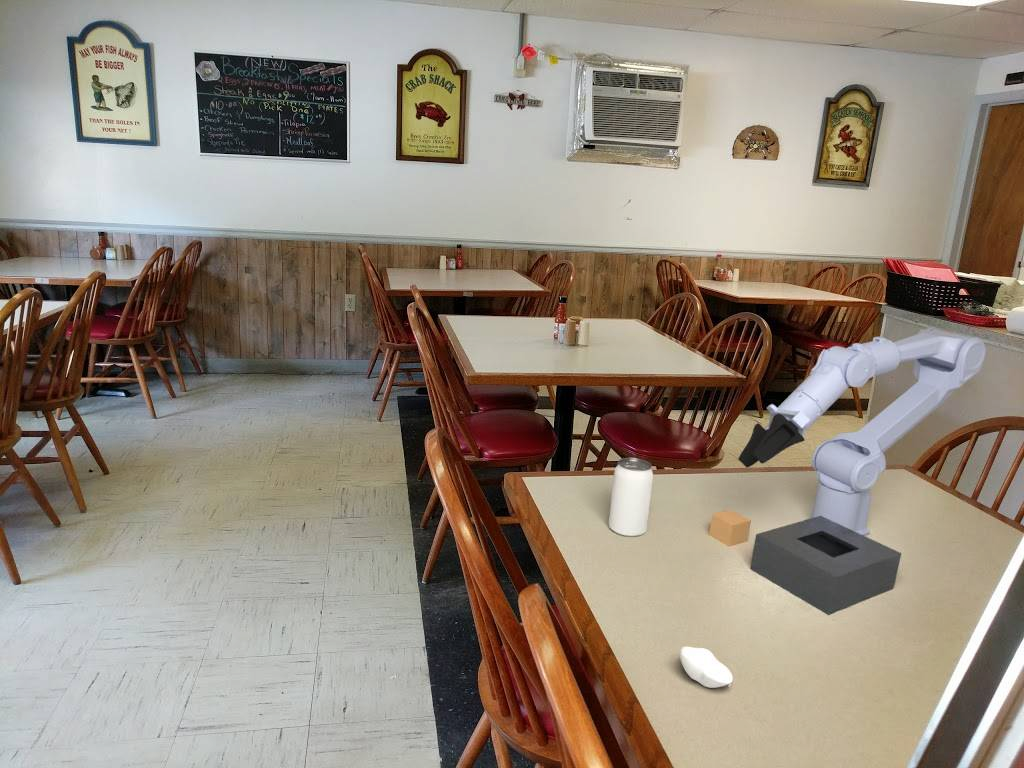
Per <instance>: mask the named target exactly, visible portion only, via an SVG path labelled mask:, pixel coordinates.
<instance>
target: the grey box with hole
mask: <svg viewBox="0 0 1024 768" xmlns="http://www.w3.org/2000/svg"><path fill="white" fill-rule="evenodd" d="M754 539H755V540H754V544H753V551H752V556H751V562H750V570H751V571H753V572H755V573H757V574H758V575H760V576H762V577H763V578H765V579H766V580H768V581H770V582H772V583H773V584H775V585H777V586H779V587H780V588H782V589H783V590H785V591H787V592H788V593H791V595H792V594H793V595H794V596H796V597H797V598H799V599H801V600H802V601H804V602H806V603H807V604H809V605H811V606H813V607H814V608H817V609H818V610H819V611H821V612H823V613H824V614H827V615H828V616H830V615H832V614H834V613H837V612H839V611H842V610H844V609H847V608H850V607H852V606H854V605H857V604H859V603H862V602H864V601H867V600H869V599H871V598H873V597H876V596H879V595H881V594H884V593H886V592H889V591H891V590H894V588H895V583H896V579H897V575H898V571H899V567H900V566H899V565H900V561H901V557H902V554H903V553H902V552H899V551H897V550H895V549H893V548H891V547H888V545H887V546H886V545H884V544H883V543H881V542H878V541H876V540H874V539H872V538H869V537H868V536H865V535H861V534H859V533H857V532H855V531H853V530H850V529H848V528H846V527H844V526H842V525H840V524H838V523H835V522H833V521H831V520H829V519H827V518H825V517H823V516H818V517H814V518H812V517H811V518H807V519H804V520H801V521H798V522H794V523H791V524H787V525H784V526H783V525H782V526H780V527H777V528H773V529H769V530H767V531H762V532H759V533H756V534H755V538H754Z"/></svg>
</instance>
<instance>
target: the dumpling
mask: <svg viewBox="0 0 1024 768" xmlns="http://www.w3.org/2000/svg"><path fill="white" fill-rule="evenodd" d="M679 656H680V657H679V659H680V662H681V665H682V667H683V669H684V670H685V672H686V673H687V675H688V676H689V677H690V678H691V679H692V680H695V681H696V682H698V683H699V684H700V685H702V686H703V687H705V688H709V689H711V688H712V689H714V688H716V689H717V688H721V687H725V686H728V688H730V686H732V683H733V681H734V680H733V677H734V676H733V674H732V672H731V671H730V669H729V668H728V667H727V666H726V665H725V664H723V663H722V662H720V661H719V660H718V659H717V658H716V657H715V655H714V654H713V653H712V651H710V650H709V649H706V648H704V647H693V646H688V645H687V646H682V647H681V649H680V652H679Z"/></svg>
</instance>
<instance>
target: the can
mask: <svg viewBox="0 0 1024 768" xmlns="http://www.w3.org/2000/svg"><path fill="white" fill-rule="evenodd" d="M613 472H614V473H613V481H612V489H611V490H612V491H611V498H610V509H609V516H608V517H609V519H608V527H609V528H610V530H611V531H612V532H613V533H615V534H617V535H620V536H622V537H629V538H631V537H632V538H633V537H634V538H635V537H640V536H642V535H644V534H645V533H646V532H647V527H648V521H649V515H650V514H649V511H650V503H651V496H652V487H653V480H654V479H653V478H654V472H653V470H652V463H650V462H649V461H647V460H644V459H641V458H636V457H625V458H624V457H623V458H620V459H619V460H618V462H617V465H616V467H615V468H614V471H613Z"/></svg>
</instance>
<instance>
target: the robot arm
mask: <svg viewBox="0 0 1024 768" xmlns="http://www.w3.org/2000/svg"><path fill="white" fill-rule="evenodd" d="M986 352H987V351H986V345H985V342H984V340H982V339H981V338H980V337H971V336H966V335H962V334H957V333H952V332H949V331H943V330H939V329H937V328H934V327H929V328H926V329H920V330H919V331H918V332H917V334H914V335H911V336H909V337H905V338H903V339H900V340H897V341H894V342H893V341H892V340H890V339H887V338H886V337H883V336H875V337H873V338H872V340H871V341H869V342H863V343H858V342H855V343H852V344H851V346H848V347H847V348H846V347H844V346H838V345H836V346H832V347H829V348H827V349H825V348H824V349H823V350H822V351H821V353H820V354H819V356H818V357H817V361H816V363H815V365H814V366H813V368H811V370H810V372H809V375H808V377H806V378H805V380H803V382H802V383H801V384H799V385H798V386H797V388H796V389H795V390H793V392H791V394H789V395H788V397H787V398H785V400H784V401H783V402H781V404H780V405H778V407H777V406H776V405H774V403H771V404H769V405H768V406H767V407H766V410H767V411H768V412H769V413H770V415H769V422H768V425H767V426H765V428H764V427H763V426H762V425H761V423H756V424H755V425H754V426H753V429H752V433H751V436H750V438H749V441H748V442H747V444H746V445H745V447H744V448H743V450H742V451H741V453H740V455H739V456H738V458H737V459H738V461H739V462H740V463H742V465H743V466H744V467H745V468H750V467H751V466H753V465H755V464H756V463H758V462H759V463H760V464H764V463H766V462H768V461H769V460H771V459H773V458H774V457H775V456H778V455H779V454H780V453H781V452H783V451H785V450H786V449H788V448H790V447H792V446H794V445H796V444H799V443H802V442H804V441H805V438H804V435H805V434H806V433H805V432H806V431H808V430H809V428H811V426H812V425H813V424H815V423H816V421H817V420H819V418H821V416H823V415H824V414H825V413H826V411H827V410H828V409H829V408H830V407H831V406H832V405H834V403H835V402H836V401H837V400H838V399H839V398H841V396H842V395H843V394H845V392H846V391H847V390H848V389H849V388H850V387H852V388H861V387H863V386H864V385H865V384H866V383H868V381H869V380H870V378H873V377H875V376H879V375H883V374H887V373H890V372H892V371H894V370H896V369H897V368H898V366H899V364H900V363H903V362H909V361H913V371H912V372H913V373H912V374H913V376H914V377H915V379H917V382H916V383H914V384H913V385H912V386H911V387H910V388H908V390H906V391H905V392H904V393H903V394H901V395H900V396H899V397H898V398H897V399H895V400H894V401H893V402H891V403H890V404H889V405H887V407H885V408H884V409H883V410H882V411H880V412H879V413H878V414H877V415H876V416H875V417H873V418H872V419H870V421H869V422H867V423H866V424H865V425H864V426H862V427H861V428H860V429H859V430H856V431H853V432H841V433H837V435H836V436H834V437H832V438H830V439H827V440H824V441H821V442H820V443H819V444H818V445H817V447H815V449H814V451H813V453H812V456H811V466H812V468H813V470H814V471H815V472H816V475H815V478H817V479H818V482H817V486H816V487H817V489H816V493H815V498H814V503H813V509H812V512H811V518H814V517H818V516H823V517H825V518H827V519H829V520H831V521H833V522H835V523H838V524H840V525H842V526H844V527H846V528H848V529H850V530H853V531H855V532H857V533H859V534H861V535H863V536H865V535H869V534H870V533H871V531H870V530H869V529H867V528H866V527H867V522H868V519H869V513H870V507H871V504H872V493H871V491H870V488H871V487H872V486H874V484H875V483H876V481H877V479H878V477H879V476H880V475H881V474H882V473H883V472H884V471H885V470H886V469H887V468H886V466H887V462H886V457H885V454H884V453H886V452H887V451H888V449H890V448H891V447H892V446H893V445H895V443H897V442H898V441H900V439H902V438H903V437H904V436H906V434H908V433H909V432H910V431H912V429H914V428H916V426H917V425H919V423H921V422H922V421H923V420H925V418H927V417H928V416H929V415H931V414H932V413H933V412H934V411H935V410H936V409H938V408H939V407H940V406H941V405H942V404H944V403H946V402H947V400H948V399H949V398H950V397H951V396H952V395H953V393H954V392H955V391H956V390H957V389H960V388H961V387H962V386H964V384H966V383H967V382H968V381H969V380H970V379H972V378H973V377H974V376H975V375H976V374H977V373H979V372H980V371H981V369H982V366H983V365H984V361H985V357H986Z"/></svg>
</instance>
